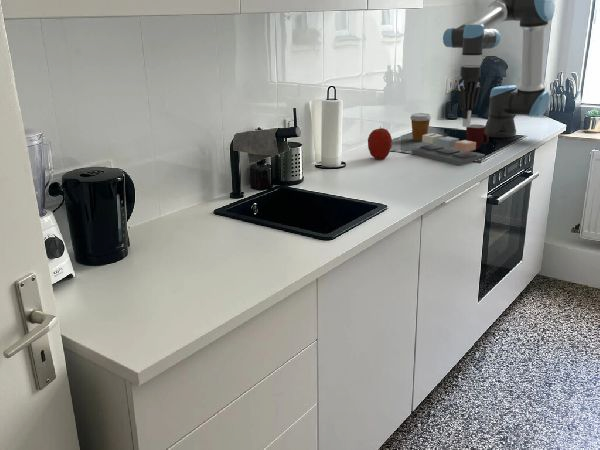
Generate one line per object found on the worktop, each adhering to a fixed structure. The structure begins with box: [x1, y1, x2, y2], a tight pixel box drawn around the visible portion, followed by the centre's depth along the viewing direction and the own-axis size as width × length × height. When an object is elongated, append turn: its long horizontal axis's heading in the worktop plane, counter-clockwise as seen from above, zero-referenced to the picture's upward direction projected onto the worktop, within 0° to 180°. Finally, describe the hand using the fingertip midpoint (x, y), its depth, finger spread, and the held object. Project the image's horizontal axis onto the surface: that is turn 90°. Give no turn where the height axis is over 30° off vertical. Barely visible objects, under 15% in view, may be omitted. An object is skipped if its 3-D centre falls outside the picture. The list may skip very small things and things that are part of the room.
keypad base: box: [411, 143, 486, 167], centre depth 251 cm, size 16×26×3 cm, turn 35°
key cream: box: [421, 132, 444, 145], centre depth 256 cm, size 6×6×3 cm
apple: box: [367, 126, 393, 160], centre depth 248 cm, size 10×10×14 cm
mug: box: [465, 123, 490, 150], centre depth 261 cm, size 10×8×10 cm
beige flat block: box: [454, 139, 477, 152], centre depth 242 cm, size 6×6×3 cm
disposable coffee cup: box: [410, 112, 432, 142], centre depth 279 cm, size 10×10×12 cm
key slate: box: [437, 136, 460, 148], centre depth 249 cm, size 6×6×3 cm
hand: (466, 126), depth 239 cm, fingers closed
